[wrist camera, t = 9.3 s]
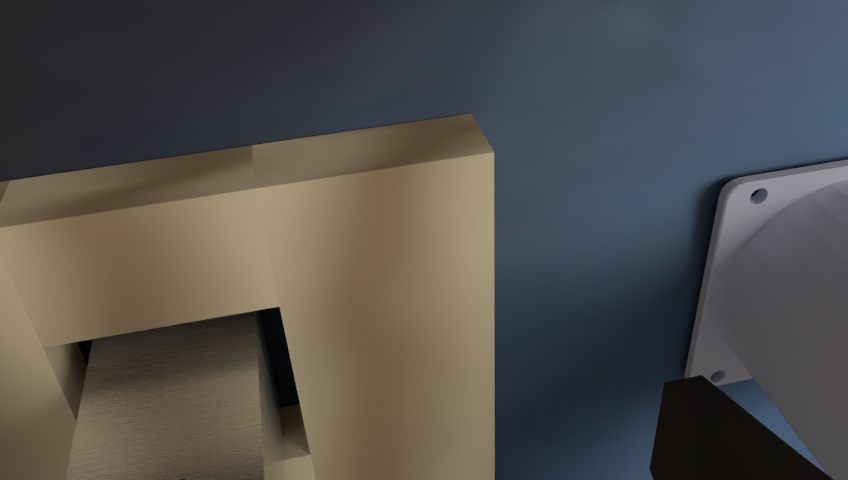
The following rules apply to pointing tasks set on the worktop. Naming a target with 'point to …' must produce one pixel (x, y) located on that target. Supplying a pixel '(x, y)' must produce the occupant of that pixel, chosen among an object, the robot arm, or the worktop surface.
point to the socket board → (272, 290)
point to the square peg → (180, 405)
